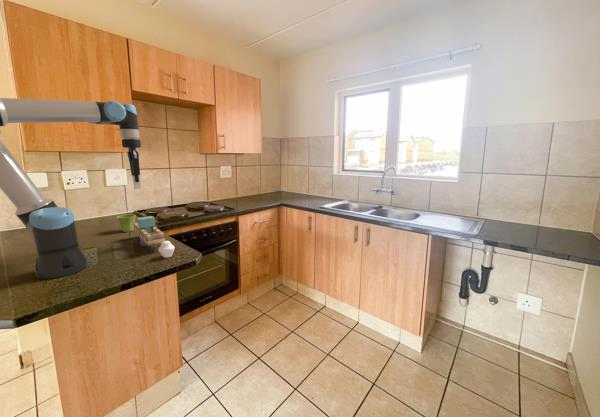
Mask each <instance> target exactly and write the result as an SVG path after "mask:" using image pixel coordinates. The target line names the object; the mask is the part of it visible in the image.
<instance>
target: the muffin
mask: <svg viewBox="0 0 600 417" xmlns="http://www.w3.org/2000/svg"><path fill="white" fill-rule="evenodd" d="M160 244H161V245H160V246H159V248H158V252H159V254H161V256H162V257H163V258H165V259H167V258H170V257H172V256H173V253H174V252H175V246H174V244H172V243H171V241H169V240H165V241H164V242H162V243H160Z"/></svg>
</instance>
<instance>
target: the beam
mask: <svg viewBox="0 0 600 417" xmlns="http://www.w3.org/2000/svg"><path fill="white" fill-rule="evenodd" d="M133 224H134V230H133V231H134V232H135V233H136V234H137V235H138V238H139V245H141V247H142V248H143V247H147V246H148V247H149V246H152V245H156V244H157V245H158V244H161V243H162V242H164V241H166V238H165V233H164V232H163V231H161V230H160V229H159V228H158V227H156V225H155V226H151V227H152V232H148V233H147V232H146V231H145V230H144V229H143V228H140V227H139V226H138V221H137V222H136V221H135V223H133Z"/></svg>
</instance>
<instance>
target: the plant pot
mask: <svg viewBox="0 0 600 417" xmlns="http://www.w3.org/2000/svg"><path fill="white" fill-rule="evenodd" d="M136 217H137V215H136V214H132V213H131V214H128V213H127V214H123V215H118V216H116V219H117V221H118V224H119V226H120V229H121V231H122V233H128V232H132V231H134V224H133V223H135V222H136Z"/></svg>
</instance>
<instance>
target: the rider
mask: <svg viewBox="0 0 600 417" xmlns="http://www.w3.org/2000/svg"><path fill="white" fill-rule="evenodd" d="M136 221H137V222H138V226H139V227H140V228H143V229H144V230H145V231H146V232H147V233H148V232H152V227H151V226H155V227H156V219H155V217H154V216H153V215H149V216H142V217H137V218H136Z"/></svg>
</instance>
